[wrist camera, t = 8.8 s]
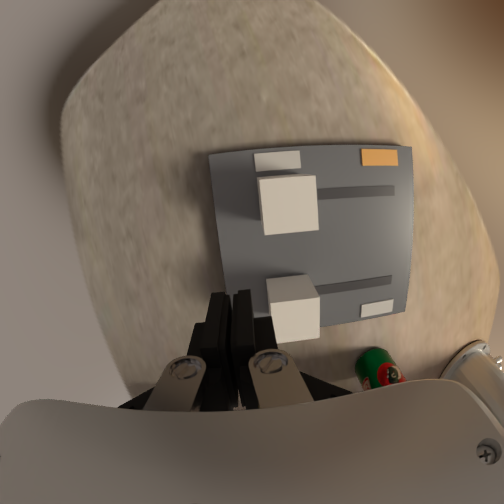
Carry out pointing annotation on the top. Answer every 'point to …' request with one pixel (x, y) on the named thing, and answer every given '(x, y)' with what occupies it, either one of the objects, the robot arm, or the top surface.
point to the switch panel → (322, 227)
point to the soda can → (377, 370)
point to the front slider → (288, 203)
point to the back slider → (294, 308)
